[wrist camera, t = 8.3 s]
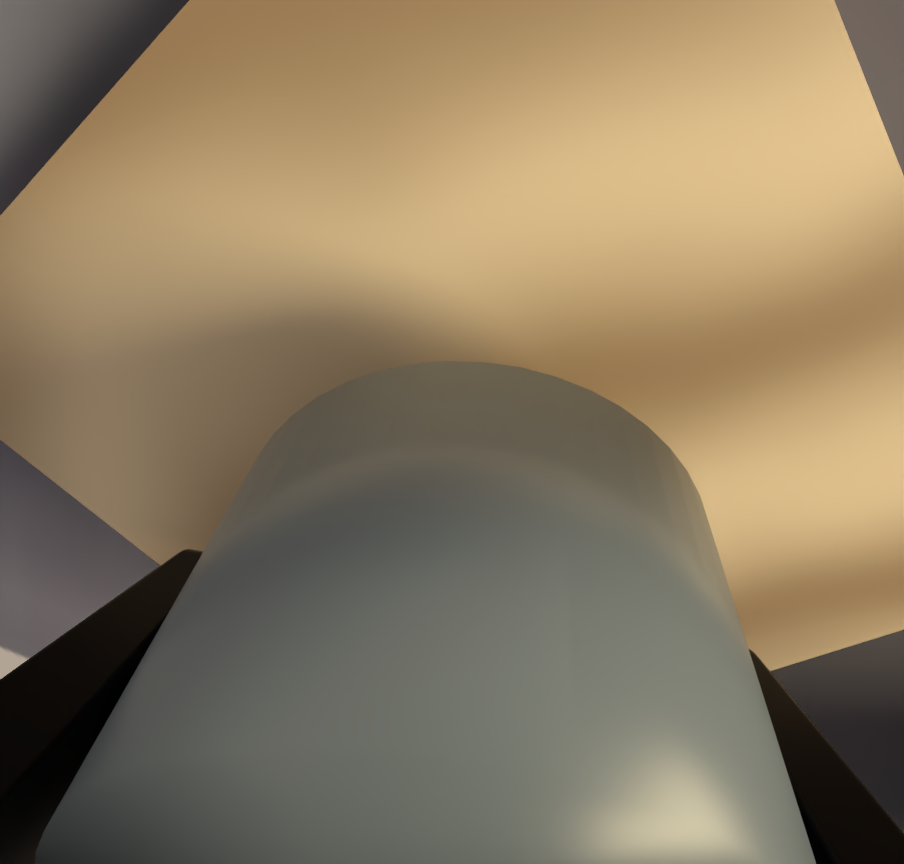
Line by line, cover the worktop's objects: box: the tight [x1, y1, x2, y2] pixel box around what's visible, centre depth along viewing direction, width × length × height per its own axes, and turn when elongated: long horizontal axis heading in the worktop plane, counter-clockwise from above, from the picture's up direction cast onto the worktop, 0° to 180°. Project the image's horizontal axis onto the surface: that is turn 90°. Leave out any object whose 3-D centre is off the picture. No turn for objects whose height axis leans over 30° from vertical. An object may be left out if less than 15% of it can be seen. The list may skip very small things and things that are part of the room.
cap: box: [35, 361, 816, 864], centre depth 8 cm, size 7×7×5 cm
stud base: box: [0, 0, 904, 671], centre depth 12 cm, size 16×15×4 cm
